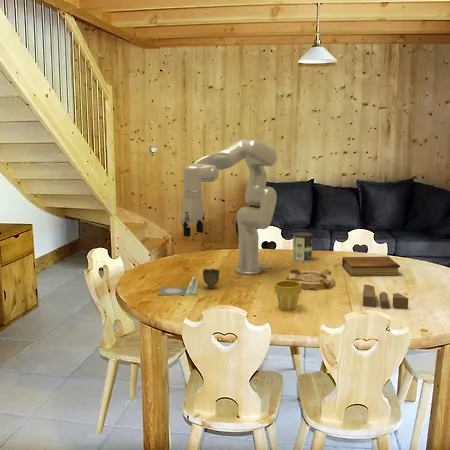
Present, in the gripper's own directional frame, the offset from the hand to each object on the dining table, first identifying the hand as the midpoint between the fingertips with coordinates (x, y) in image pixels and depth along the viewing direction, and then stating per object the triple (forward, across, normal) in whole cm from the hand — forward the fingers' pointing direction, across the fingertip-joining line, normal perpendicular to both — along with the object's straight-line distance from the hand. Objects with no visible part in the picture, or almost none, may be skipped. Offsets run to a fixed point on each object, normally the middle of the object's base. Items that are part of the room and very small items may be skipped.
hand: (193, 234), depth 238 cm
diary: (+25, -66, +58) cm, 92 cm away
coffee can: (+24, -70, +21) cm, 77 cm away
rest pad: (+24, +9, -5) cm, 26 cm away
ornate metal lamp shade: (+24, -4, +6) cm, 25 cm away
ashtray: (+25, -33, +41) cm, 58 cm away
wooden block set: (+25, -23, +77) cm, 84 cm away
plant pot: (+24, +3, +46) cm, 52 cm away
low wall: (+24, +2, +1) cm, 24 cm away
